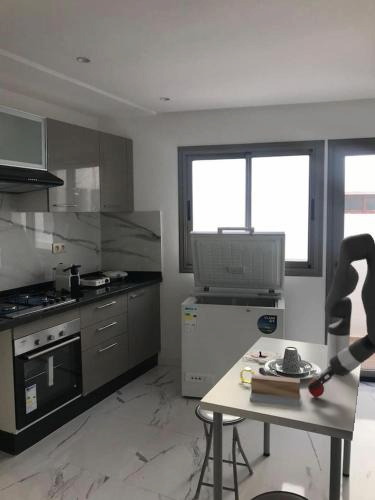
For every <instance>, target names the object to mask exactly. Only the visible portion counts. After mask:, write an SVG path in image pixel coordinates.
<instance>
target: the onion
mask: <svg viewBox="0 0 375 500" xmlns="http://www.w3.org/2000/svg"><path fill="white" fill-rule="evenodd" d="M317 377H318V376H314V378H313V379H312V380H311V381H309V383H308V384H307V385H308V386H307V390H308V392H309V393H310V395H312V397H313V398H315V399H316V398H320V397H321V396H322V395H323V394H324V392H325V386H324V384H323V385H321V386H320V387H319V386H318V387H317V388H315V389H314V390H311V389H310V388H309V385H310V384H311V383H312V382H314V381H315V380H316V379H317ZM319 381H320V380H319ZM320 382H321V381H320ZM321 383H322V382H321Z"/></svg>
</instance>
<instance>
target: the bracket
mask: <svg viewBox="0 0 375 500" xmlns="http://www.w3.org/2000/svg"><path fill="white" fill-rule="evenodd" d="M258 372H259V373H261V375H264V376H270V375H269V373H268V372H267V371H266V370H265V368H264V367H259V369H258Z"/></svg>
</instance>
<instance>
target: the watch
mask: <svg viewBox="0 0 375 500" xmlns="http://www.w3.org/2000/svg"><path fill="white" fill-rule="evenodd" d="M244 371H245V372H250V373H251V375H252V374H254V375H256V374H255V373H254V371H253V370H252V367H248V366H247V367H244V369H242V370H241V372H240V375H239V377H240V379H241V381H242V382H243V383H248V384H251V381H250V380H246V379H245V378H244V376H243V372H244Z"/></svg>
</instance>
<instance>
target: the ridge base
mask: <svg viewBox="0 0 375 500" xmlns="http://www.w3.org/2000/svg"><path fill="white" fill-rule="evenodd" d="M249 401H251V402H257V403H268V404H276V405H285V406H293V407H300V398H293V397H284V396H275V395H265V394H256V393H251V392H250V396H249Z"/></svg>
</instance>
